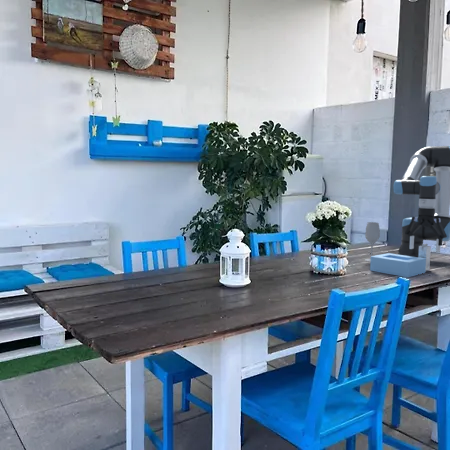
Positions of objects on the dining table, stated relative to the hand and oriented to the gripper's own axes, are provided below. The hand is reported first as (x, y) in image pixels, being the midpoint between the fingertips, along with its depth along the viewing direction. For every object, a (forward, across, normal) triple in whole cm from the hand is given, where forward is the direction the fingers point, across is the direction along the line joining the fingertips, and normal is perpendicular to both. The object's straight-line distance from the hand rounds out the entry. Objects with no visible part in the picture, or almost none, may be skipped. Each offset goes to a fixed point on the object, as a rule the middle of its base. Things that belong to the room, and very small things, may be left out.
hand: (424, 250), depth 232 cm
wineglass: (+10, -31, +2) cm, 33 cm away
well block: (+10, -6, -14) cm, 18 cm away
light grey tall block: (+10, 0, 0) cm, 10 cm away
